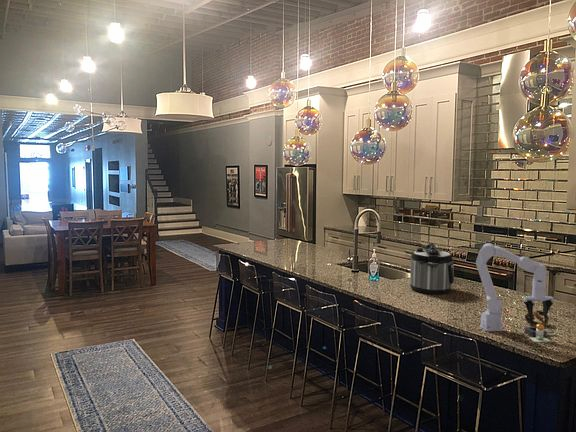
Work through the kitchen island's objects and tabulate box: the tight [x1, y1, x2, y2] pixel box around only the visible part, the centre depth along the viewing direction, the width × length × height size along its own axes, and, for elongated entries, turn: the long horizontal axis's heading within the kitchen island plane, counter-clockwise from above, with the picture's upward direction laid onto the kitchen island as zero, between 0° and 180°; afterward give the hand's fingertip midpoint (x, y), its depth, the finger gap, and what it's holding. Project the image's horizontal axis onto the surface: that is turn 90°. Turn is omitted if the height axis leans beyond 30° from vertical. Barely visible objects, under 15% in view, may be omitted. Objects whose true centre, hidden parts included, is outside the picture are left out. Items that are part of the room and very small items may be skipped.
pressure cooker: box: [409, 242, 455, 295], centre depth 324 cm, size 30×28×32 cm
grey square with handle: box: [523, 326, 555, 338], centre depth 237 cm, size 13×7×3 cm, turn 94°
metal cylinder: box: [535, 323, 545, 340], centre depth 230 cm, size 3×3×7 cm
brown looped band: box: [524, 310, 550, 326], centre depth 254 cm, size 12×9×8 cm
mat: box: [528, 337, 552, 343], centre depth 230 cm, size 8×5×1 cm, turn 94°
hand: (537, 315), depth 237 cm, fingers open, 7 cm apart
